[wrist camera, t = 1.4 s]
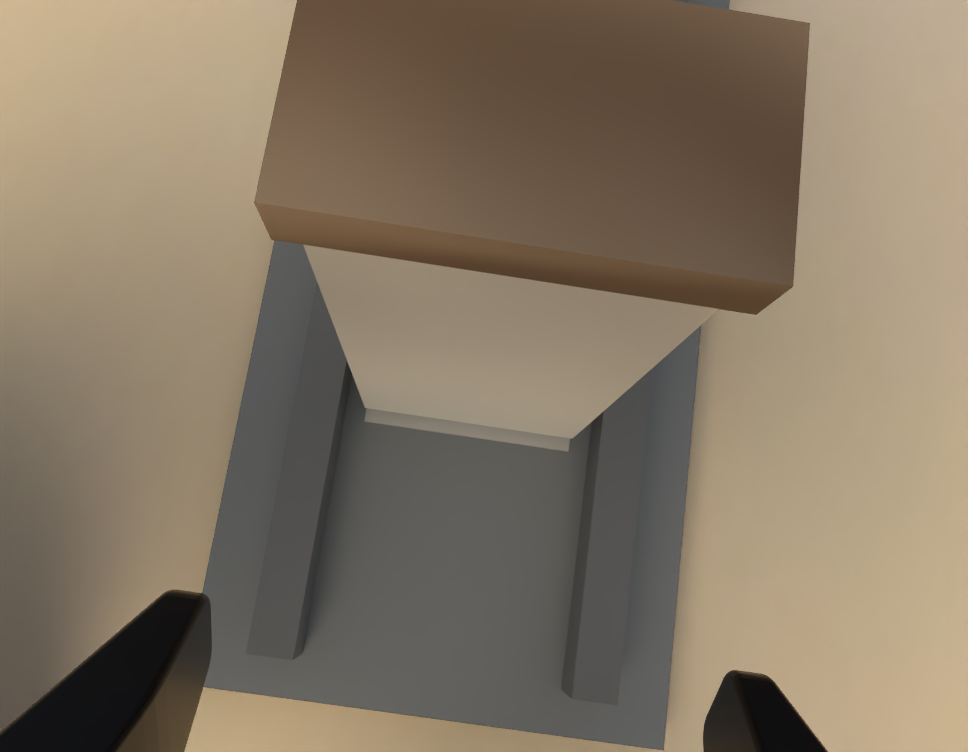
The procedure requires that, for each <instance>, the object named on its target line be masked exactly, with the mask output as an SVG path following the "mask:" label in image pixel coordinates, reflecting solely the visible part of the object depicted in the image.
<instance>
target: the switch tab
mask: <svg viewBox="0 0 968 752" xmlns="http://www.w3.org/2000/svg"><path fill="white" fill-rule="evenodd" d="M809 29H810V23H805V22H799V21H793V20H787V19H781V18H775V17H769V16H763V15H757V14H751V13H745V12H739V11H733V10H727V9H721V8H715V7H709V6H703V5H697V4H691V3H685V2H679V1H673V0H297V3H296V8H295V13H294V18H293V22H292V27H291V32H290V36H289V41H288V46H287V50H286V55H285V60H284V65H283V69H282V74H281V79H280V83H279V88H278V93H277V97H276V102H275V107H274V112H273V116H272V121H271V126H270V130H269V135H268V140H267V144H266V149H265V154H264V159H263V163H262V168H261V173H260V177H259V182H258V187H257V192H256V196H255V201H254V203H255V205H256V207H257V209H258V212H259V214H260V216H261V218H262V220H263V222H264V224H265V227H266V229H267V231H268V233H269V235H270V237H271V239H272V240H277V241H283V242H290V243H296V244H303V246H304V248H305V251H306V254H307V256H308V259H309V262H310V264H311V267H312V269H313V272H314V275H315V277H316V280H317V283H318V285H319V288H320V291H321V293H322V296H323V298H324V301H325V304H326V306H327V309H328V312H329V314H330V317H331V320H332V322H333V325H334V327H335V330H336V333H337V335H338V338H339V341H340V343H341V346H342V349H343V351H344V354H345V356H346V359H347V362H348V364H349V367H350V370H351V372H352V375H353V378H354V380H355V383H356V385H357V388H358V391H359V393H360V396H361V399H362V401H363V404H364V407H365V408H369V409H376V410H383V411H390V412H396V413H403V414H410V415H416V416H423V417H430V418H437V419H443V420H450V421H457V422H463V423H470V424H477V425H484V426H490V427H497V428H504V429H510V430H517V431H524V432H531V433H537V434H544V435H551V436H557V437H564V438H571V439H573V438H574V437H575V436H576V435H577V434H578V433H579V432H581V431H582V430H583V429H584V428H585V427H586V426H587V425H588V424H590V423H591V422H592V421H593V420H594V419H595V418H596V417H598V416H599V415H600V414H601V413H602V412H603V411H604V410H606V409H607V408H608V407H609V406H610V405H611V404H612V403H613V402H615V401H616V400H617V399H618V398H619V397H620V396H621V395H623V394H624V393H625V392H626V391H627V390H628V389H629V388H630V387H632V386H633V385H634V384H635V383H636V382H637V381H638V380H640V379H641V378H642V377H643V376H644V375H645V374H646V373H647V372H649V371H650V370H651V369H652V368H653V367H654V366H655V365H657V364H658V363H659V362H660V361H661V360H662V359H663V358H664V357H666V356H667V355H668V354H669V353H670V352H671V351H672V350H674V349H675V348H676V347H677V346H678V345H679V344H680V343H681V342H683V341H684V340H685V339H686V338H687V337H688V336H689V335H691V334H692V333H693V332H694V331H695V330H696V329H697V328H698V327H700V326H701V325H702V324H703V323H704V322H705V321H706V320H708V319H709V318H710V317H711V316H712V315H713V314H714V313H715V312H717V311H718V310H719V309H723V310H729V311H736V312H742V313H749V314H755V315H756V314H758V313H759V312H760V311H762V310H763V309H764V308H766V307H767V306H768V305H769V304H771V303H772V302H773V301H775V300H776V299H777V298H779V297H780V296H781V295H782V294H784V293H785V292H786V291H788V290H789V289H790V288H792V287H793V277H794V262H795V246H796V231H797V215H798V200H799V184H800V168H801V153H802V137H803V122H804V106H805V91H806V75H807V60H808V44H809Z"/></svg>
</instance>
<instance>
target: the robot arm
mask: <svg viewBox="0 0 968 752" xmlns="http://www.w3.org/2000/svg"><path fill="white" fill-rule="evenodd" d="M211 654H212V628H211V603H210V600H209V597H208V596H207V595H205V594H203V593H196V592H189V591H182V590H170V591H167V592H165V593H164V594H162V595H161V596H160V597H159V598H157V599H156V600H155V601H154V602H153V603H152V604H150V605H149V606H148V607H147V608H146V609H145V610H143V611H142V612H141V613H140V614H139V615H138V616H136V617H135V618H134V619H133V620H132V621H131V622H129V623H128V624H127V625H126V626H125V627H124V628H122V629H121V630H120V631H119V632H118V633H116V634H115V635H114V636H113V637H112V638H111V639H109V640H108V641H107V642H106V643H105V644H104V645H102V646H101V647H100V648H99V649H98V650H97V651H95V652H94V653H93V654H92V655H91V656H90V657H88V658H87V659H86V660H85V661H84V662H83V663H81V664H80V665H79V666H78V667H77V668H75V669H74V670H73V671H72V672H71V673H70V674H68V675H67V676H66V677H65V678H64V679H63V680H61V681H60V682H59V683H58V684H57V685H56V686H54V687H53V688H52V689H51V690H50V691H49V692H47V693H46V694H45V695H44V696H43V697H42V698H40V699H39V700H38V701H37V702H36V703H34V704H33V705H32V706H31V707H30V708H29V709H27V710H26V711H25V712H24V713H23V714H22V715H20V716H19V717H18V718H17V719H16V720H15V721H13V722H12V723H11V724H10V725H9V726H8V727H6V728H5V729H4V730H3V731H2V732H1V733H0V752H184V750H185V747H186V744H187V740H188V737H189V734H190V730H191V727H192V723H193V720H194V717H195V713H196V710H197V707H198V703H199V700H200V696H201V693H202V690H203V686H204V683H205V680H206V676H207V673H208V669H209V665H210V660H211ZM703 747H704V752H828V751H827V750H826V749H825V747H824V746H823V745H822V743H821V742H820V741H819V740H818V738H817V737H816V736H815V734H814V733H813V732H812V730H811V729H810V728H809V726H808V725H807V724H806V723H805V721H804V720H803V719H802V717H801V716H800V715H799V713H798V712H797V711H796V710H795V708H794V707H793V706H792V704H791V703H790V702H789V700H788V699H787V698H786V696H785V695H784V694H783V693H782V691H781V690H780V689H779V687H778V686H777V685H776V683H775V682H774V681H773V680H772V679H771V678H769V677H768V676H766V675H764V674H759V673H752V672H745V671H738V670H732V671H730V672H728V673H727V674H726V676H725V677H724V679H723V681H722V683H721V686H720V688H719V690H718V692H717V694H716V697H715V699H714V701H713V703H712V706H711V708H710V710H709V712H708V714H707V717H706V720H705V724H704V732H703Z"/></svg>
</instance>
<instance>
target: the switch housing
mask: <svg viewBox="0 0 968 752" xmlns="http://www.w3.org/2000/svg"><path fill="white" fill-rule="evenodd" d="M673 1H679V2H685V3H691V4H697V5H703V6H709V7H715V8H721V9H727V10H729V1H730V0H673ZM700 330H701V326H700V327H698V328H697V329H696V330H695V331H694V332H693V333H692V334H691V335H689V336H688V337H687V338H686V339H685V340H684V341H683V342H681V343H680V344H679V345H678V346H677V347H676V348H675V349H674V350H672V351H671V352H670V353H669V354H668V355H667V356H666V357H664V358H663V359H662V360H661V361H660V362H659V363H658V364H657V365H655V366H654V367H653V368H652V369H651V370H650V371H649V372H647V373H646V374H645V375H644V376H643V377H642V378H641V379H640V380H638V381H637V382H636V383H635V384H634V385H633V386H632V387H630V388H629V389H628V390H627V391H626V392H625V393H624V394H623V395H621V396H620V397H619V398H618V399H617V400H616V401H615V402H613V403H612V404H611V405H610V406H609V407H608V408H607V409H606V410H604V411H603V412H602V413H601V414H600V415H599V416H598V417H596V418H595V419H594V420H593V421H592V422H591V423H590V424H588V425H587V426H586V427H585V428H584V429H583V430H582V431H581V432H579V433H578V434H577V435H576V436H575V437H574V438H573V439H571V438H564V437H557V436H551V435H544V434H537V433H531V432H524V431H517V430H510V429H504V428H497V427H490V426H484V425H477V424H470V423H463V422H457V421H450V420H443V419H437V418H430V417H423V416H416V415H410V414H403V413H396V412H390V411H383V410H376V409H369V408H365V407H364V404H363V401H362V399H361V396H360V393H359V391H358V388H357V385H356V383H355V380H354V378H353V375H352V372H351V370H350V367H349V364H348V362H347V359H346V356H345V354H344V351H343V349H342V346H341V343H340V341H339V338H338V335H337V333H336V330H335V327H334V325H333V322H332V320H331V317H330V314H329V312H328V309H327V306H326V304H325V301H324V298H323V296H322V293H321V291H320V288H319V285H318V283H317V280H316V277H315V275H314V272H313V269H312V267H311V264H310V262H309V259H308V256H307V254H306V251H305V248H304V246H303V244H296V243H290V242H283V241H277V240H275V241H274V246H273V251H272V256H271V260H270V265H269V270H268V275H267V280H266V285H265V290H264V295H263V299H262V304H261V309H260V314H259V319H258V324H257V329H256V334H255V338H254V343H253V348H252V353H251V358H250V363H249V368H248V373H247V378H246V382H245V387H244V392H243V397H242V402H241V407H240V412H239V417H238V421H237V426H236V431H235V436H234V441H233V446H232V451H231V456H230V460H229V465H228V470H227V475H226V480H225V485H224V490H223V495H222V499H221V504H220V509H219V514H218V519H217V524H216V529H215V534H214V538H213V543H212V548H211V553H210V558H209V563H208V568H207V573H206V578H205V582H204V587H203V592H202V593H203V594H205V595H207V596H208V597H209V600H210V603H211V628H212V654H211V660H210V665H209V669H208V673H207V676H206V680H205V683H204V686H203V687H207V688H214V689H222V690H229V691H236V692H243V693H251V694H258V695H265V696H273V697H280V698H287V699H294V700H302V701H309V702H316V703H323V704H331V705H338V706H345V707H352V708H360V709H367V710H374V711H382V712H389V713H396V714H403V715H411V716H418V717H425V718H432V719H440V720H447V721H454V722H461V723H469V724H476V725H483V726H491V727H498V728H505V729H512V730H520V731H527V732H534V733H541V734H549V735H556V736H563V737H570V738H578V739H585V740H592V741H600V742H607V743H614V744H621V745H629V746H636V747H643V748H650V749H658V750H664V740H665V728H666V717H667V706H668V694H669V683H670V671H671V660H672V649H673V637H674V626H675V615H676V603H677V592H678V581H679V569H680V558H681V546H682V535H683V524H684V512H685V501H686V490H687V478H688V467H689V455H690V444H691V433H692V421H693V410H694V399H695V387H696V376H697V364H698V353H699V342H700Z"/></svg>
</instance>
